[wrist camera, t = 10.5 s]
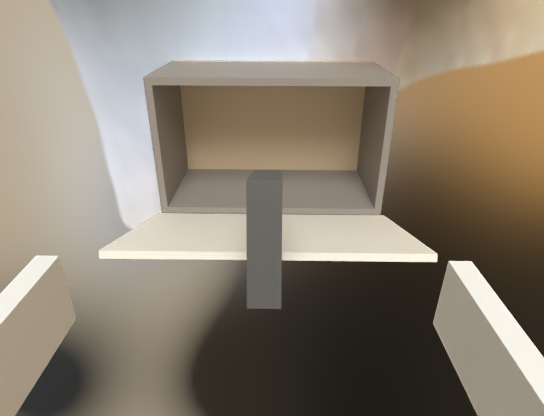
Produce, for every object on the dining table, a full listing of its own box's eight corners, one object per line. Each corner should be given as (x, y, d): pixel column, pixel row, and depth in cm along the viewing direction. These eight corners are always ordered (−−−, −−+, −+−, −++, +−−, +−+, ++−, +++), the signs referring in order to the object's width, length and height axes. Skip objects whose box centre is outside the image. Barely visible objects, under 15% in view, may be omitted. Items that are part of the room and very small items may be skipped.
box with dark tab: (156, 158, 36) (158, 224, 37) (32, 178, 18) (44, 306, 19) (386, 160, 36) (383, 226, 37) (500, 182, 18) (486, 311, 19)
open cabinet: (184, 172, 46) (161, 212, 37) (173, 60, 40) (143, 77, 32) (360, 173, 46) (380, 214, 37) (372, 61, 40) (399, 78, 31)
